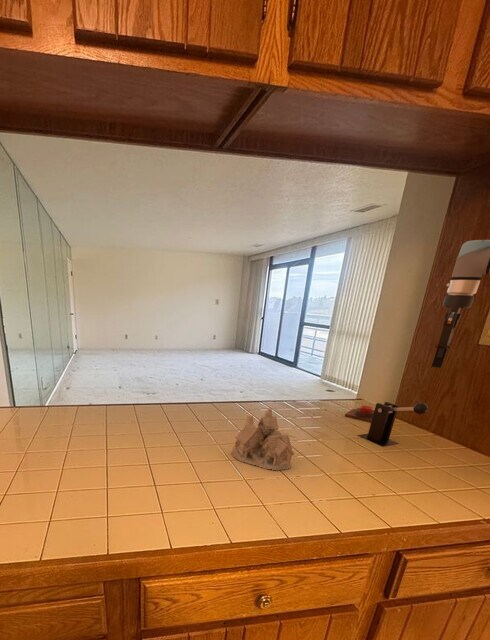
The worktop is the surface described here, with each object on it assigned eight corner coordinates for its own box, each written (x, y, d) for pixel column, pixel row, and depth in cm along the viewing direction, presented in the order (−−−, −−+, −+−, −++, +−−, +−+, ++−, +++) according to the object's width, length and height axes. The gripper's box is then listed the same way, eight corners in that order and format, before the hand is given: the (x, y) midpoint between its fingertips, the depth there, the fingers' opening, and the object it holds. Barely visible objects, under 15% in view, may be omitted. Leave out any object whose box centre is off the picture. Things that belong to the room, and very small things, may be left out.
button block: (383, 420, 141) (385, 411, 139) (376, 426, 134) (379, 417, 132) (351, 413, 148) (353, 404, 147) (344, 418, 141) (346, 409, 140)
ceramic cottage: (227, 447, 112) (234, 404, 105) (275, 448, 114) (285, 406, 107) (241, 474, 98) (251, 426, 92) (296, 474, 100) (309, 427, 93)
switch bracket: (398, 446, 117) (410, 407, 112) (381, 449, 114) (393, 410, 109) (372, 435, 126) (382, 399, 120) (356, 438, 123) (365, 401, 117)
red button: (372, 411, 140) (373, 407, 139) (369, 413, 137) (370, 409, 136) (361, 409, 142) (362, 405, 142) (358, 411, 139) (359, 407, 139)
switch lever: (431, 413, 104) (430, 401, 104) (423, 414, 103) (422, 402, 102) (386, 414, 117) (385, 403, 117) (378, 415, 116) (378, 404, 116)
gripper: (448, 294, 119) (426, 362, 128) (443, 294, 110) (420, 367, 119) (476, 295, 114) (451, 366, 123) (473, 294, 105) (447, 371, 115)
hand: (436, 366), depth 121 cm, fingers closed
